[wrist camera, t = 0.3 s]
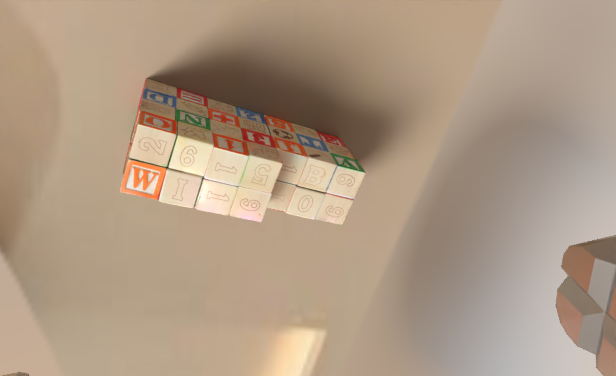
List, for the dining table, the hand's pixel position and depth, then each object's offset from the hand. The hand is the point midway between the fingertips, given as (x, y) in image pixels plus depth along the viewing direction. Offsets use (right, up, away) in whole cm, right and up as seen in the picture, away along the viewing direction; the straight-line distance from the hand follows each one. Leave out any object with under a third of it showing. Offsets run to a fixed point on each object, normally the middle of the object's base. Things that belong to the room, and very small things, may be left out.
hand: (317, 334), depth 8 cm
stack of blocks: (-7, +8, +49) cm, 50 cm away
